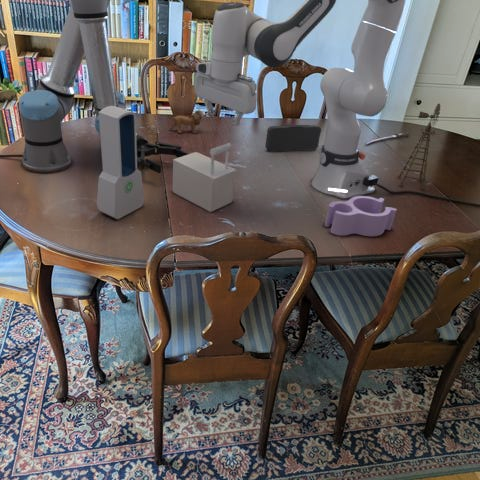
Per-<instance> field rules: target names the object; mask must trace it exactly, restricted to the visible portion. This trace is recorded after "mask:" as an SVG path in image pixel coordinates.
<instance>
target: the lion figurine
mask: <svg viewBox="0 0 480 480" xmlns="http://www.w3.org/2000/svg"><path fill="white" fill-rule="evenodd" d="M203 120H204V111H202V110H200V109H197V110H195V111H194V112H193V113H192V114H190V115H189V116H183V115H176V116H175V117H174V118H173V119H172V123H171V127H170V128H169V130H168V131H169V132H171V131H176V130H177V132H178V133H179V134H182V133H183V132H182V130H180V128H181V126H182V125H183V126H186V127H189V126H190V132H192V133H193V134H196V133H197V130H196V127H197V126H200V124H201V123H202V122H203ZM176 126H177V127H176ZM175 127H176V128H175Z"/></svg>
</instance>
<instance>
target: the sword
mask: <svg viewBox="0 0 480 480" xmlns="http://www.w3.org/2000/svg"><path fill="white" fill-rule="evenodd" d="M402 134H403V133H398V134H397V133H394V134H392V135H389V136H383V137H379V138H376V139H372V140H369V141H367V142H366V146H368V145H371V144H373V143H377V142H381V141H384V140H389V139H393V138H400V137H402V136H404V135H402ZM408 135H409V136H410V133H409V134H406V135H405V136H408Z"/></svg>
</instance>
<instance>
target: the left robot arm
mask: <svg viewBox="0 0 480 480" xmlns="http://www.w3.org/2000/svg"><path fill="white" fill-rule="evenodd" d="M68 2H69V4H70V7H69V9H68V13H67V16H66V19H65V21H64V24H63V28H62V30H61V34H60V35H59V36H60V37H59V38H58V43H57V45H56V48H55V51H54V54H53V57H52V60H51V62H50V65H49V69H48V71H47V73H46V74H43V75H41V76H40V79H39V82H38V85H37V88H36V89H34V90H33V89H32V90H30V91H26V92H24V93H22V95H20V97H19V98H18V111H19V114H20V119H21V126H22V132H23V137H24V148H23V153H22V154H0V158H21V161H22V166H23V168H24V169H25V170H27V171H29V172H33V173H39V174H46V173H56V172H61V171H63V170H66V169H67V168H69V167H70V166H71V163H72V159H71V155H70V153H69V151H68V150H67V149H68V148H67V147H66V145H65V143H64V140H63V132H62V122H63V121H64V119H65V118H66V116H68V115H69V113H70V112H71V111H72V108H73V103H74V98H75V95H76V93H77V92H76V88H75V86H74V84H75V82H76V79H77V76H78V74H79V71H80V68H81V65H82V64H83V60H84V57H85V64H86V68H87V73H88V74H87V75H88V79H89V85H90V90H91V91H90V92H91V96H92V101H93V107H94V112H95V119H94V128H95V130H96V132H97V133H98V135H99V139H101V137H100V124H99V112H100V111H101V110H102V109H103V108H105V107H108V106H115V107H119V108H122V109H125V110H126V105H127V104H126V96H125V94H124V93H122V92H120V91H117V88H116V81H115V75H114V70H113V62H112V56H111V50H110V49H111V48H110V43H109V36H108V29H107V23H106V21H107V20H108V19H109V12H108V8H109V5H110V4H111V3H110V2H111V0H68ZM136 143H137V169H139V168H140V169H142V170H145V169H146V168H147V169H148V170H151V171H153V172H155V173H157V174H161V173H162V165H161V164H159V163H158V162H155V161H154V160H152V159H149V158H145V157H150V156H159V155H167V156H168V155H169V156H175V157H176V158H179V157H182V156H185V155H188V154H189V153H188V152H186V151H183V150H182V145H176V144H172V143H166V142H160V141H158V140H155V142H154V143H151V142H149V141H148V139H146V138H145V137H144V136H141V135H139V134H138V133H136ZM139 158H140V159H139Z"/></svg>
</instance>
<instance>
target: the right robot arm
mask: <svg viewBox="0 0 480 480" xmlns="http://www.w3.org/2000/svg"><path fill="white" fill-rule="evenodd" d="M406 1H407V0H368V1H367V2H368V4H367V6H366V8H365V10H364V13H363V15H362V17H361V20H360V21H359V24H358V27H357V30H356V33H355V35H354V37H353V40H352V43H351V47H350V50H351V54H352V55H353V59H354V65H353V66H354V67H353V70H352V69H349V68H345V67H332V68H331V67H330V69H328V70H326V72H324V73H323V76H322V77H321V79H320V85H319V87H320V88H319V89H320V91H321V93H322V96H323V99H324V101H325V108H326V117H327V118H326V120H327V123H326V131H325V137H324V142H323V144H322V146H321V150H320V155H319V163H318V167H317V170H316V172H315V175H314V177H313V179H312V181H311V185H312V188H314V189H315V190H316V191H319V192H321V193H323V194H326V195H330V196H335V197H338V198H340V199H351V198H352V197H356V196H364V195H368V194H372V193H375V186H376V187H378V188H380V189H382V190H384V191H385V192H387V193H389V194H392V195H393V194H394V195H398V194H399V195H400V194H415V195H421V196H425V197H429V198H430V197H431V198H435V199H439V200H443V201H444V200H445V201H449V202H454V203H460V204H465V205H469V206H475V207H480V203H474V202H469V201H465V200H460V199H454V198H449V197H444V196H440V195H434V194H429V193H425V192H420V191H414V190H400V191H398V190H397V191H393V190H389V189H388V188H387V187H385V186H383V185H381V184H379V183H378V182H379V177H378V176H376V175H373V174H372V175H371V174H370V171H369V169H367V168H366V167H365V166H364V165H363V163H362V162H361V161H359V159H360V160H362V161H363V160H365V158H366V154H365V153H363V152H362V151H361V152H360V151H359V150H358V146H359V141H360V137H361V133H362V128H361V124H360V123H359V121H358V118H357V115H358V116H363V117H376V116H378V115H379V114H380V113H381V112H382V111H383V110H384V108H385V107H386V105H387V103H388V97H389V95H388V90H387V87H386V85H385V76H384V75H385V65H386V60H387V57H388V54H389V51H390V49H391V46H392V44H393V42H394V39H395V36H396V33H397V32H398V30H399V26H400V24H401V20H402V19H403V18H402V17H403V15H404V14H403V13H404V10H405V6H406ZM336 2H337V0H305V1H304V2H303V3H302V4H301V5H300V6H299V7H298V8H297V9H296V10H295V11H294V12H293V13H292V14H291V15H290V16H289V17H288V18H287V19H286V20H284V21H280V22H274V21H271V20H269V19H266V18H263V17H262V16H260V15H258V14H256V13H255V12H253V11H252V10H251V9H249V8H248V7H247V5H246V4H245V3H243V2H239V1H235V2H234V1H229V2H225V3H222V4H220V5H219V6H218V7H216V10H215V12H214V16H213V21H212V22H213V23H212V32H211V43H212V51H211V54H210V59H209V60H207V61H202V62H198V63H196V64H195V70H196V73H195V77H194V94H195V96H196V97H197V98H200V99H202V100H204V105H205V108H206V115H207V116H208V117H210V118H213V117H215V116H216V109H214V107H213V103H214V104H217V105H219V106H222V107H225V108H228V109H231V110H234V112H235V117H234V118H232V119H231V125H232V126H234V127H238V126H240V123H241V119H242V118H243V116H244V115H250V114H252V113H255V111H256V109H257V83H256V81H255V80H254V78H253V77H252V76H251V77H250V76H247V75H245V74H244V64H245V57H246V56H251V57H253V58H255V59H257V60H258V61H260V62H261V63H262V64H263V65H265V66H267V67H269V68H275V69H276V68H280V67H283V66H284V65H286V64H287V63H288V62H289V61H290V60H291V59H292V58H293V56H294V54H295V53H296V51H297V49H298V48H299V46H300V45H301V43H302V42H303V41H304V40H305V39H306V38H307V36H308V35H309V34H310V33H311V32H312V31H314V29H315V28H316V27H317V26H318V25H319V24H320V23H321V22H322V21H323V20H324V18H325V17H327V16H328V14H329V13H330V12H331V10H333V8H334V6H335V4H336Z"/></svg>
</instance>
